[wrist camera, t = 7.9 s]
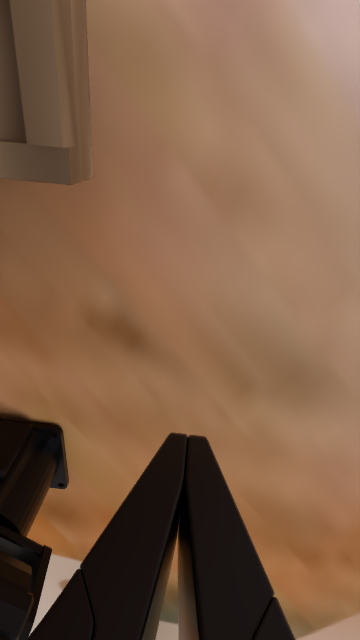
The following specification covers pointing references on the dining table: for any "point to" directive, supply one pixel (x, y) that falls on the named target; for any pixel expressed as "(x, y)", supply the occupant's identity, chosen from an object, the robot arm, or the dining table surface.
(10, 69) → the beam
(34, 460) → the robot arm
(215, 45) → the dining table surface
